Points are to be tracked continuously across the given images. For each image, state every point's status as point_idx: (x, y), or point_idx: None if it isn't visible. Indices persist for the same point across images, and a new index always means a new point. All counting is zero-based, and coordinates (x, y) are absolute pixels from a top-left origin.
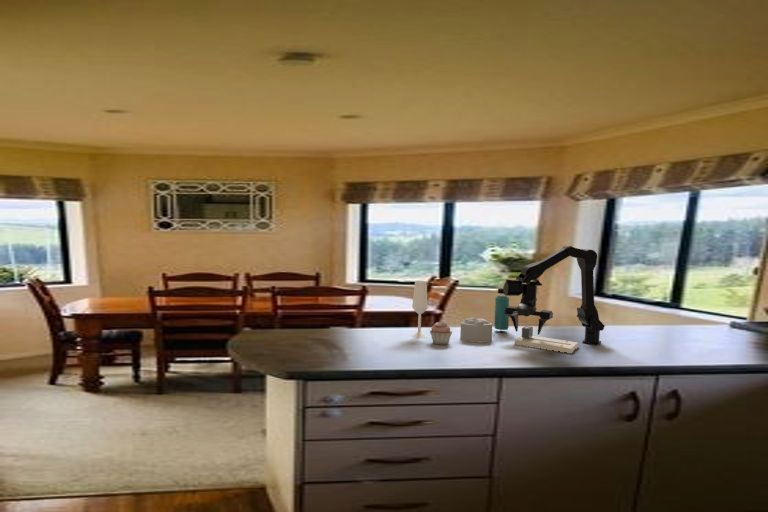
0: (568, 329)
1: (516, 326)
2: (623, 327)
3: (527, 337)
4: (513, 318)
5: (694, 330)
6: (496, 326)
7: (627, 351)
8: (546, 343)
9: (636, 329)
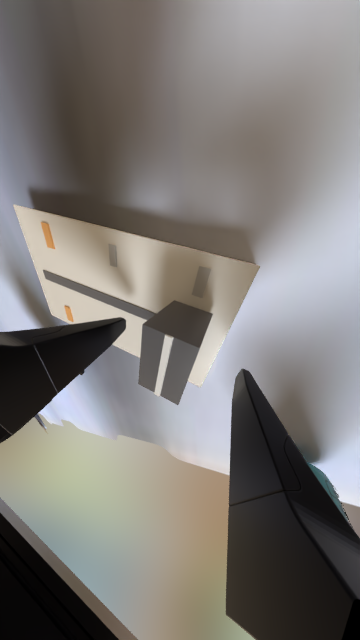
0: (128, 434)
1: (248, 398)
2: (84, 429)
3: (179, 303)
4: (346, 558)
5: (45, 411)
6: (333, 490)
7: (13, 308)
8: (98, 252)
9: (72, 420)
